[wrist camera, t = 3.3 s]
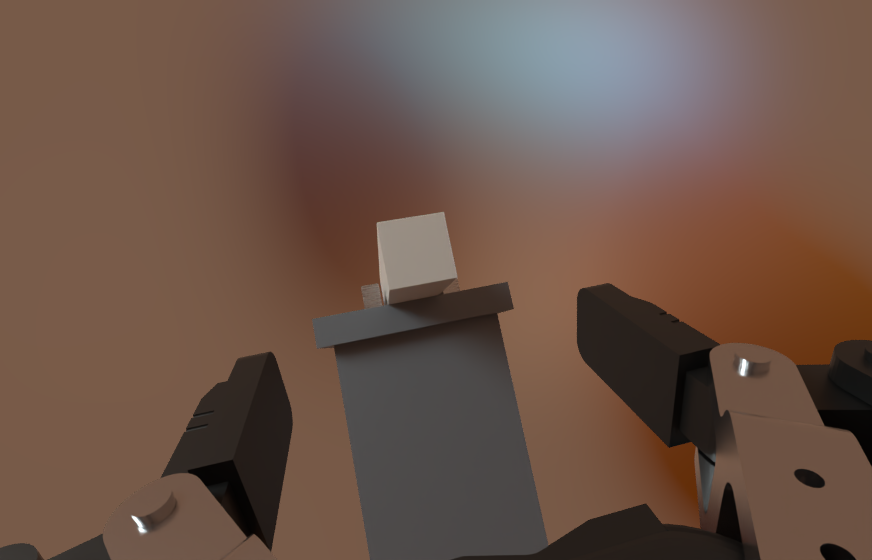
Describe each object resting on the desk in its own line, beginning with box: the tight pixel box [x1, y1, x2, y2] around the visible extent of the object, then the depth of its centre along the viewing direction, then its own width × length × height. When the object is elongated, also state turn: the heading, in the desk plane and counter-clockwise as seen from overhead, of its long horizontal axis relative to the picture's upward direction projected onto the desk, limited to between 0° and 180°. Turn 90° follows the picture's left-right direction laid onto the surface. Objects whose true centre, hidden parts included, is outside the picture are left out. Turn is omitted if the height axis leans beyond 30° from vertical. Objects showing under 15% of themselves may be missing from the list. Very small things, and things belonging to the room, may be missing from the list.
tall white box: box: [377, 212, 457, 305], centre depth 33 cm, size 4×22×4 cm, turn 7°
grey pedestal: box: [312, 278, 548, 560], centre depth 34 cm, size 15×15×34 cm
